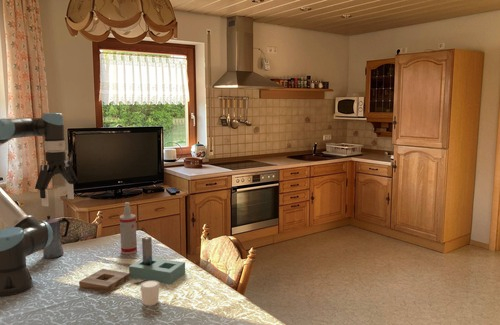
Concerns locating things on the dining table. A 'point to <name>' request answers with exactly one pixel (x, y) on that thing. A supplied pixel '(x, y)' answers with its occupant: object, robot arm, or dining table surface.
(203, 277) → the dining table surface
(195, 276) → the dining table surface
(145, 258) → the steel pin
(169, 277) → the block
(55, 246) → the moka pot
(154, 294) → the shot glass
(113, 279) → the socket block
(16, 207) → the robot arm
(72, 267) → the dining table surface
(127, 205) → the white plastic bottle
